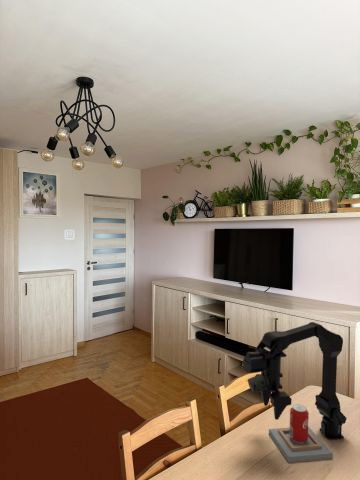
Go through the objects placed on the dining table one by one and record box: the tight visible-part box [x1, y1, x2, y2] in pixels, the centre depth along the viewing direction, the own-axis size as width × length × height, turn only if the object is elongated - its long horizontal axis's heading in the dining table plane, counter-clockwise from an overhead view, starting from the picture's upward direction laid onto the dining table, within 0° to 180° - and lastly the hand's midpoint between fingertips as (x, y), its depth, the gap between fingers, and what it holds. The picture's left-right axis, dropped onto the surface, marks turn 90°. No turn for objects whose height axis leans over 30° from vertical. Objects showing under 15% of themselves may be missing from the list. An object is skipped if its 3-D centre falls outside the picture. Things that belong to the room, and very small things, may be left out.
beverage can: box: [289, 403, 310, 444], centre depth 124 cm, size 6×6×12 cm
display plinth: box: [268, 426, 333, 464], centre depth 124 cm, size 16×16×3 cm
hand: (270, 412), depth 122 cm, fingers open, 9 cm apart
